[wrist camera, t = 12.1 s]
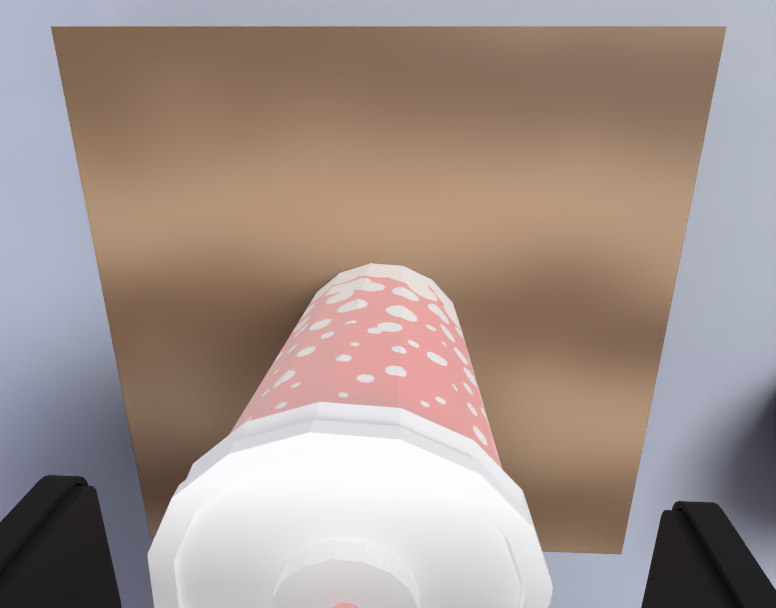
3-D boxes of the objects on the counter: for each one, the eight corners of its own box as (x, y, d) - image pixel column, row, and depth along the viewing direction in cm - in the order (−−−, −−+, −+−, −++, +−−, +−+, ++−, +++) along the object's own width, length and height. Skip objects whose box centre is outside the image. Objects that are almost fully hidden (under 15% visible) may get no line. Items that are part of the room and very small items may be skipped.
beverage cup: (299, 210, 16) (-205, 885, 3) (519, 269, 16) (893, 1097, 3) (260, 399, 18) (-117, 1225, 5) (452, 447, 19) (524, 1331, 6)
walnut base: (596, 493, 23) (621, 554, 20) (182, 480, 23) (150, 536, 21) (674, 31, 17) (726, 26, 14) (109, 31, 17) (51, 26, 15)
